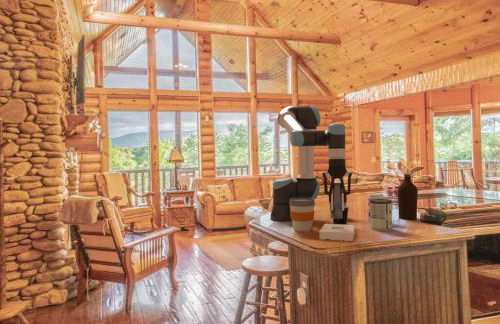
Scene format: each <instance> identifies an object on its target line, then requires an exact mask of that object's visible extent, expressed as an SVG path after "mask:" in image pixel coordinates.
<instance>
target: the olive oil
mask: <svg viewBox="0 0 500 324" xmlns="http://www.w3.org/2000/svg"><path fill="white" fill-rule="evenodd" d="M403 174H404V173H403ZM411 180H412V178H411V174H410V173H405V174H404V177H403V181H402V182H401V184H400V185H399V186H398V187H397V192H396V193H397V205H398V206H397V207H398V218H399V219H400V220H411V221H412V220H413V221H414V220H417V219H418V198H419V197H418V195H419V194H418V193H419V192H418V188H417V186H416V185H415V184H414V183H413V182H412V181H411Z"/></svg>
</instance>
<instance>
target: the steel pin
mask: <svg viewBox="0 0 500 324" xmlns="http://www.w3.org/2000/svg"><path fill="white" fill-rule="evenodd" d="M332 195H333V218H334V219H342V195H343V191H342V186H341V182H334V183H333V190H332ZM333 218H332V219H333Z"/></svg>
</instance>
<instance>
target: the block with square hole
mask: <svg viewBox="0 0 500 324" xmlns="http://www.w3.org/2000/svg"><path fill="white" fill-rule="evenodd" d="M355 230H356V225H355V224H347V225H341V224H333V223H324V224H323V225H322V226H321V229H320V230H319V240H325V239H330V240H331V241H343V240H344V241H345V242H347V241H348V242H353V241H354V238H355V233H356V231H355ZM330 240H329V241H330ZM344 241H343V242H344Z"/></svg>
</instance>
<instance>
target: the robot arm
mask: <svg viewBox="0 0 500 324" xmlns="http://www.w3.org/2000/svg"><path fill="white" fill-rule="evenodd" d="M277 122H278V124H279V126H280V127H281V128H283V129H285V130H286V131H287V133H288V134H289V141H290V145H291V146H293V147H297V148H298V174H297V175H296V176H295V179H294V178H293V177H287V178H286V177H283V178H278V179H275V180H274V181H273V182H272V202H273V203H272V209H271V212H270V215H269V216H270V220H272V221H280V222H286V221H287V222H289V221H291V222H292V220H291V215H290V210H291V209H290V205H289V203H290V199H293V198H311V199H314V200H316V199H317V197H319V194H320V191H321V185H320V181H319V179H317V176H316V175H315V174H314V173H315V172H314V164H315V162H314V161H315V160H314V159H315V158H314V157H315V152H314V151H315V149H314V148H315V147H327V148H328V149H327V150H328V151H327V153H328V158H329V159H328V167H327V168H328V169H327V171H325V172H322V173H321V175H322V178H323V186H324V187H323V189H324V194H325V195H327V196H328V203H329V204H330V203H331V210H333V183H335V180H339V181H340V182H339V183H341V186H342V211H344V203H346V201H347V200H348V199H347V200H346V197H348V196H349V195H350V194H351V192H352V191H351V189H352V187H351V183H352V176H353V172H352V171H348V170H347V168H346V166H347V165H346V164H347V163H346V159H345V158H346V125H345V124H343V123H331V124H328V126H327V127H328V128H327V130H326V129H324V130H322V129H321V130H320V129H317V128H318V127H320V125H321V114H320V111H319V109H318V108H317V107H316V106H312V105H308V106H307V105H305V106H303V105H301V106H300V105H299V106H298V105H297V106H296V105H295V106H294V105H290V106H286V107H285V108H283V109H281V111H280V112H278V115H277ZM345 175H346V176H347V189H346V186H345V182H344V177H345ZM328 176H330V177H331V179H330V185H329V190H328ZM346 190H347V191H346ZM347 202H348V201H347ZM346 204H347V203H346Z"/></svg>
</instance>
